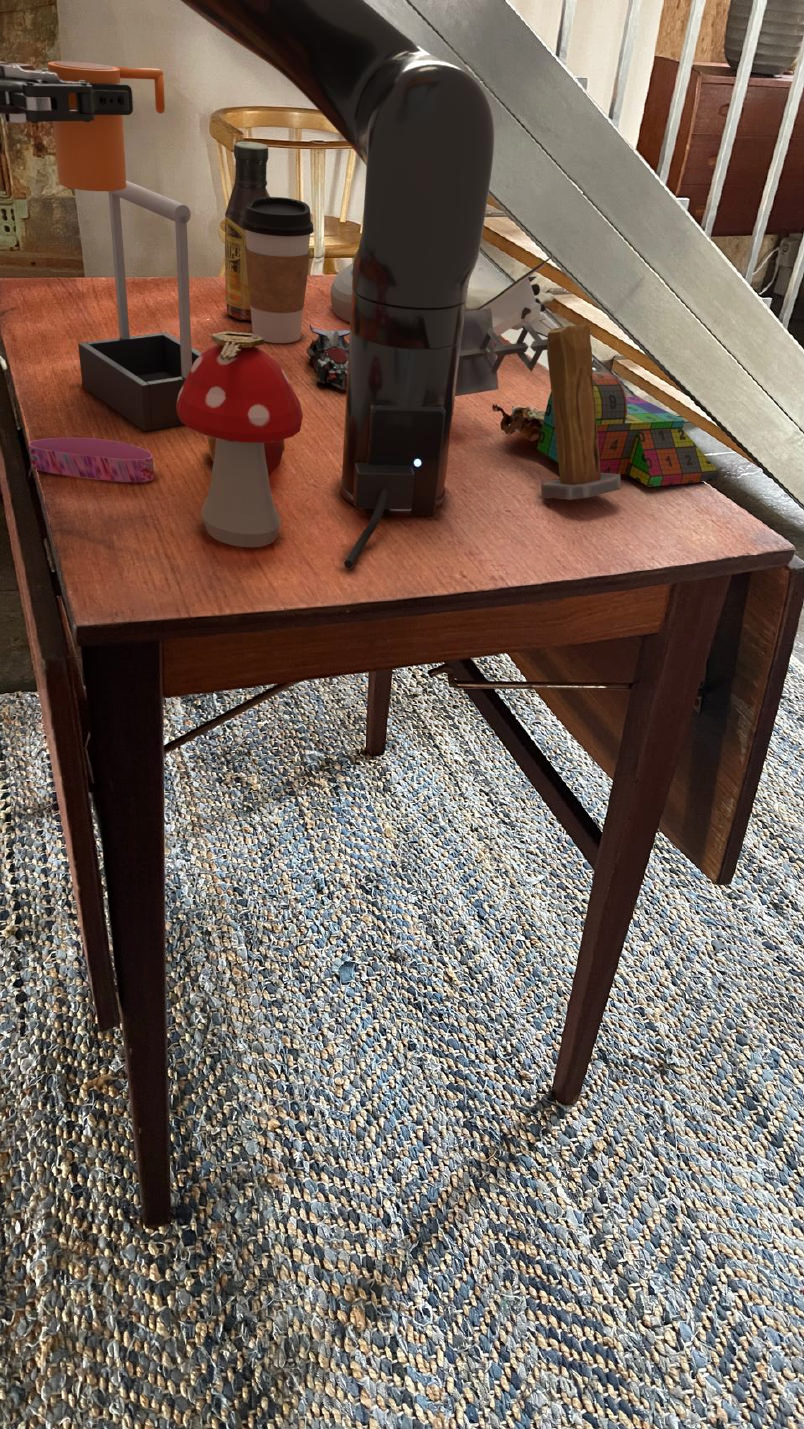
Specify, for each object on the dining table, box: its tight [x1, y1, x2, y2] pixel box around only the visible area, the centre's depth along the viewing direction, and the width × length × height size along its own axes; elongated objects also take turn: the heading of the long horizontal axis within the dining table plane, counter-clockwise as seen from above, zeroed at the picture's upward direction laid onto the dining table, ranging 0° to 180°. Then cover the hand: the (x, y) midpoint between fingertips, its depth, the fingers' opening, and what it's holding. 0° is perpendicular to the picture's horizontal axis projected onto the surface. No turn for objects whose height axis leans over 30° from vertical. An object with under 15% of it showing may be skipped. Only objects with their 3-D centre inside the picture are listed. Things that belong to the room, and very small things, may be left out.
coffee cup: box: [242, 196, 315, 344], centre depth 122 cm, size 8×8×15 cm
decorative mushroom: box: [176, 344, 304, 548], centre depth 78 cm, size 10×9×15 cm
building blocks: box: [536, 371, 720, 487], centre depth 98 cm, size 15×10×8 cm
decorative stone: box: [330, 262, 353, 323], centre depth 136 cm, size 18×18×5 cm
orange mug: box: [47, 60, 166, 192], centre depth 89 cm, size 10×6×9 cm, turn 129°
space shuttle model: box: [477, 254, 558, 339], centre depth 128 cm, size 16×25×10 cm
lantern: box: [455, 308, 622, 501], centre depth 100 cm, size 8×17×30 cm
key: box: [210, 330, 265, 360], centre depth 72 cm, size 4×8×1 cm, turn 2°
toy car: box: [305, 323, 350, 391], centre depth 115 cm, size 6×12×4 cm, turn 11°
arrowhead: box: [465, 287, 555, 311], centre depth 143 cm, size 12×4×25 cm
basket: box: [77, 180, 203, 432], centre depth 100 cm, size 14×10×20 cm
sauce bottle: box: [224, 141, 271, 322], centre depth 127 cm, size 7×6×20 cm
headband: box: [28, 437, 155, 483], centre depth 90 cm, size 11×4×2 cm, turn 85°
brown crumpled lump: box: [491, 403, 546, 442], centre depth 104 cm, size 7×12×6 cm, turn 156°
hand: (112, 94), depth 88 cm, fingers closed on orange mug, 5 cm apart
